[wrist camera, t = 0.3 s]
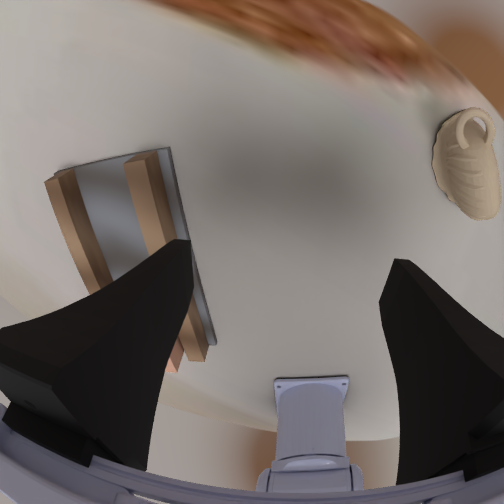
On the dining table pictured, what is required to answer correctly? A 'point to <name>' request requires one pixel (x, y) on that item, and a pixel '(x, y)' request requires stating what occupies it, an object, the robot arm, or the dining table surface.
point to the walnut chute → (127, 226)
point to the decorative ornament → (468, 164)
